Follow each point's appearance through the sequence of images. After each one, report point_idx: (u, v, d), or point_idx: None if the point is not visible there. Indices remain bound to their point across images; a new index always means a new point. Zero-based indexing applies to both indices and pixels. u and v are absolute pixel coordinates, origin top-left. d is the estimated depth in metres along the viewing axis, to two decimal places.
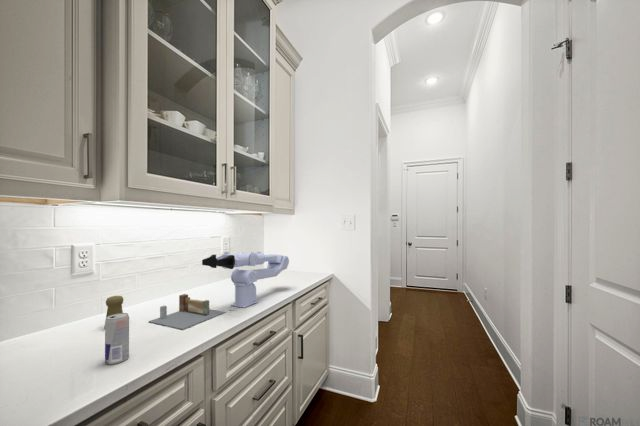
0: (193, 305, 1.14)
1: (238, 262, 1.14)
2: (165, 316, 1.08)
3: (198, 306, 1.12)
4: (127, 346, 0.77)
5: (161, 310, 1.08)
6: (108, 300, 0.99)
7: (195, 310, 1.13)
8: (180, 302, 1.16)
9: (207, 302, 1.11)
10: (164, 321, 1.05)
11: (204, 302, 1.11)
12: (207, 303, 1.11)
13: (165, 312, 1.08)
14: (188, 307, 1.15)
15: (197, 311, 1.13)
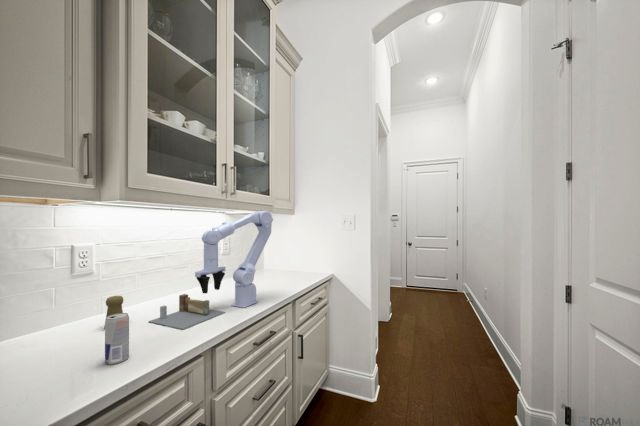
0: (193, 305, 1.14)
1: (197, 274, 1.11)
2: (165, 316, 1.08)
3: (198, 306, 1.12)
4: (127, 346, 0.77)
5: (161, 310, 1.08)
6: (108, 300, 0.99)
7: (195, 310, 1.13)
8: (180, 302, 1.16)
9: (207, 302, 1.11)
10: (164, 321, 1.05)
11: (204, 302, 1.11)
12: (207, 303, 1.11)
13: (165, 312, 1.08)
14: (188, 307, 1.15)
15: (197, 311, 1.13)
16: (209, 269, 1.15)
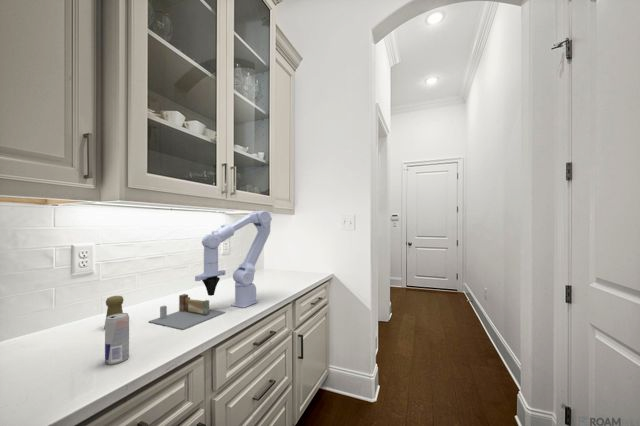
0: (193, 305, 1.14)
1: (196, 278, 1.11)
2: (165, 316, 1.08)
3: (198, 306, 1.12)
4: (127, 346, 0.77)
5: (161, 310, 1.08)
6: (108, 300, 0.99)
7: (195, 310, 1.13)
8: (180, 302, 1.16)
9: (207, 302, 1.11)
10: (164, 321, 1.05)
11: (204, 302, 1.11)
12: (207, 303, 1.11)
13: (165, 312, 1.08)
14: (188, 307, 1.15)
15: (197, 311, 1.13)
16: (209, 273, 1.15)
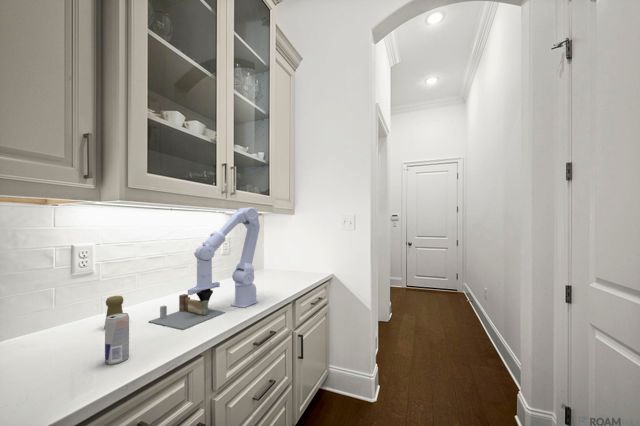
0: (192, 305, 1.13)
1: (189, 292, 1.08)
2: (165, 316, 1.08)
3: (197, 306, 1.12)
4: (127, 346, 0.77)
5: (161, 310, 1.08)
6: (108, 300, 0.99)
7: (194, 310, 1.13)
8: (180, 302, 1.16)
9: (206, 302, 1.11)
10: (164, 321, 1.05)
11: (203, 302, 1.10)
12: (205, 303, 1.11)
13: (165, 312, 1.08)
14: (188, 307, 1.15)
15: (196, 311, 1.12)
16: (202, 286, 1.12)
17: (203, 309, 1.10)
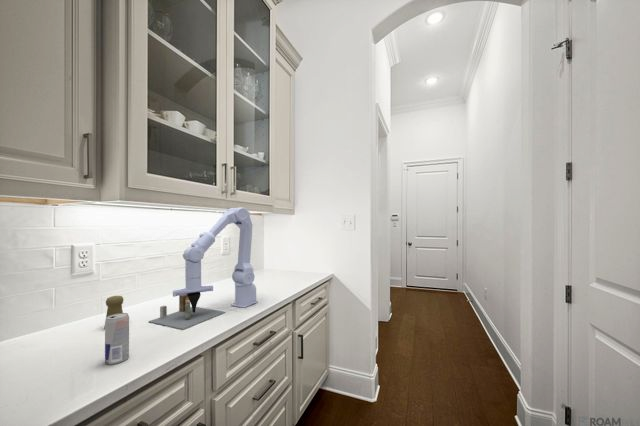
0: None
1: None
2: (165, 316, 1.08)
3: None
4: (127, 346, 0.77)
5: (161, 310, 1.08)
6: (108, 300, 0.99)
7: None
8: (180, 302, 1.16)
9: (187, 306, 1.06)
10: (164, 321, 1.05)
11: (185, 306, 1.06)
12: (187, 307, 1.06)
13: (165, 312, 1.08)
14: None
15: None
16: (187, 289, 1.08)
17: (185, 313, 1.06)
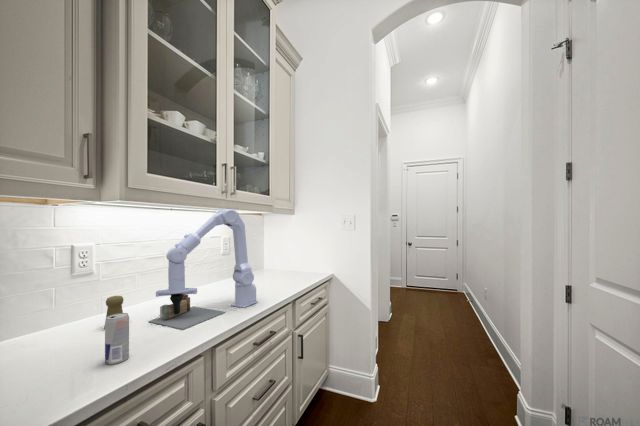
0: None
1: None
2: None
3: None
4: (127, 346, 0.77)
5: (161, 310, 1.08)
6: (108, 300, 0.99)
7: None
8: None
9: (163, 307, 1.06)
10: (164, 321, 1.05)
11: None
12: (163, 308, 1.06)
13: None
14: None
15: None
16: (168, 290, 1.07)
17: None
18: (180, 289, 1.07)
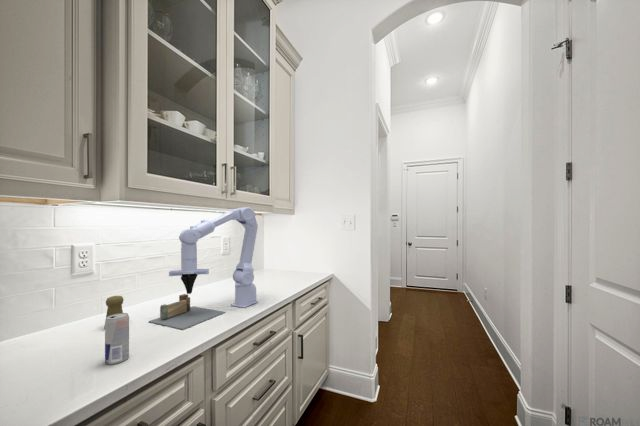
0: None
1: None
2: None
3: None
4: (127, 346, 0.77)
5: None
6: (108, 300, 0.99)
7: None
8: None
9: (162, 307, 1.06)
10: (164, 321, 1.05)
11: None
12: (162, 308, 1.06)
13: None
14: None
15: None
16: (181, 270, 1.10)
17: None
18: (193, 269, 1.10)
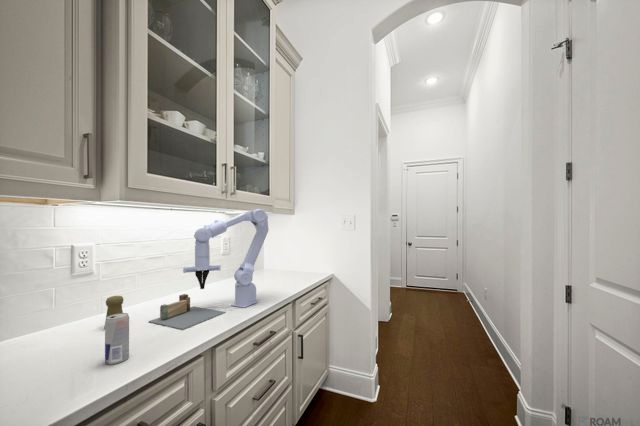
0: None
1: None
2: None
3: None
4: (127, 346, 0.77)
5: None
6: (108, 300, 0.99)
7: None
8: None
9: (162, 307, 1.06)
10: (164, 321, 1.05)
11: None
12: (162, 308, 1.06)
13: None
14: None
15: None
16: (196, 266, 1.16)
17: None
18: (206, 266, 1.17)
